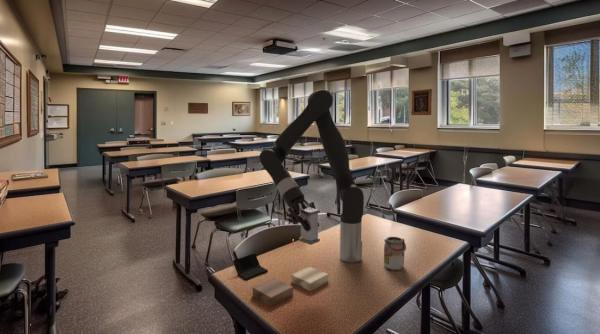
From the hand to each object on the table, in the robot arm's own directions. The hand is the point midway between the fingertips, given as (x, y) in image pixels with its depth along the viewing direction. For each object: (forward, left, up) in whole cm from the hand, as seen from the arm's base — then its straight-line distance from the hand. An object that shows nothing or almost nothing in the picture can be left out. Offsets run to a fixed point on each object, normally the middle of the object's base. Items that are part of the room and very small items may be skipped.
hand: (313, 228), depth 123 cm
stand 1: (+14, +9, -21) cm, 27 cm away
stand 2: (+1, -1, -21) cm, 21 cm away
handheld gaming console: (+25, -9, -22) cm, 35 cm away
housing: (+2, -1, -5) cm, 6 cm away
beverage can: (-34, -14, -22) cm, 42 cm away
